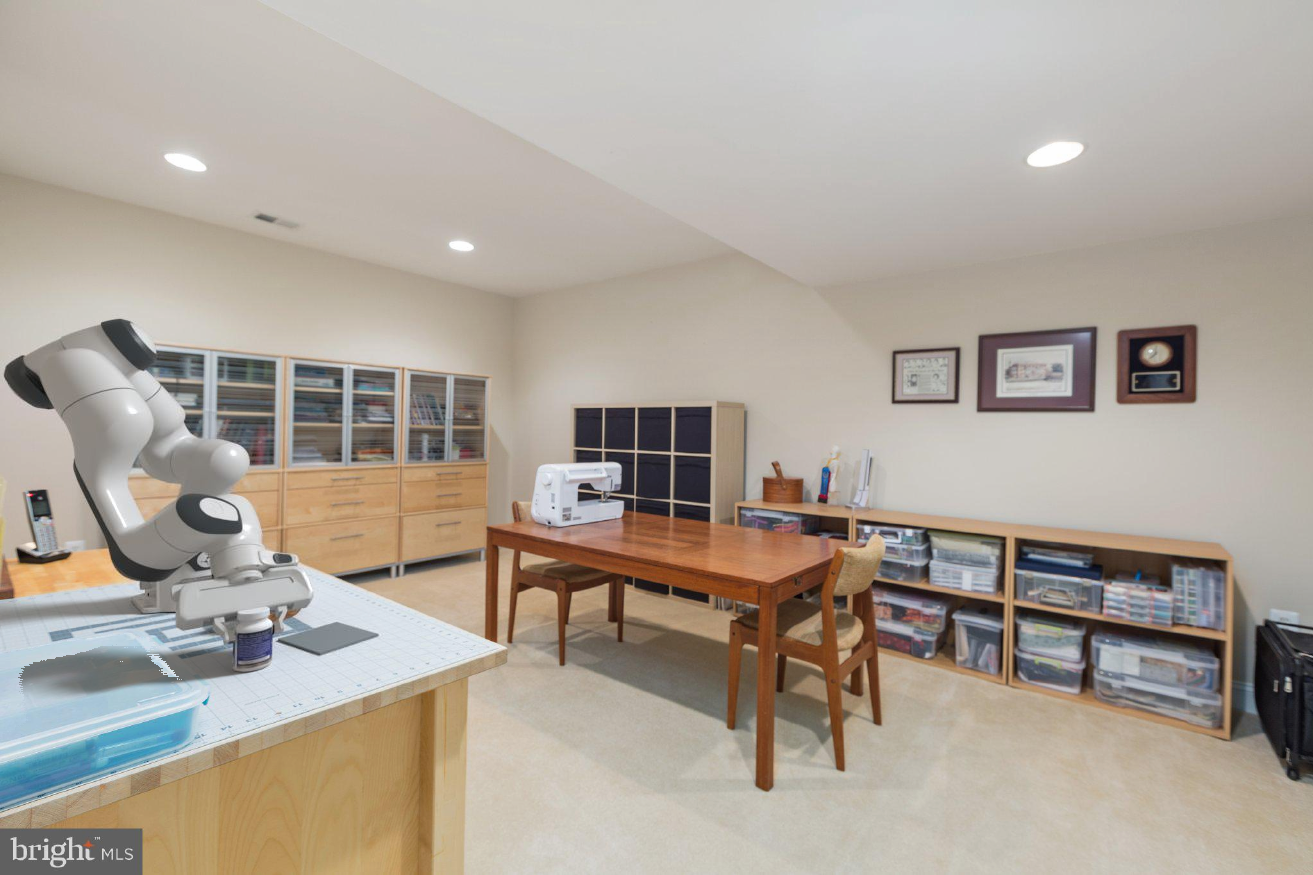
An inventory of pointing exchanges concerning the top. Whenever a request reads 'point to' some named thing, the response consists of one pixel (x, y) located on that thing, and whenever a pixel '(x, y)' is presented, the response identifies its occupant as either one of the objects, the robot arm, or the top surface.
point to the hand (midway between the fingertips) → (255, 637)
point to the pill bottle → (253, 640)
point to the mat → (328, 638)
